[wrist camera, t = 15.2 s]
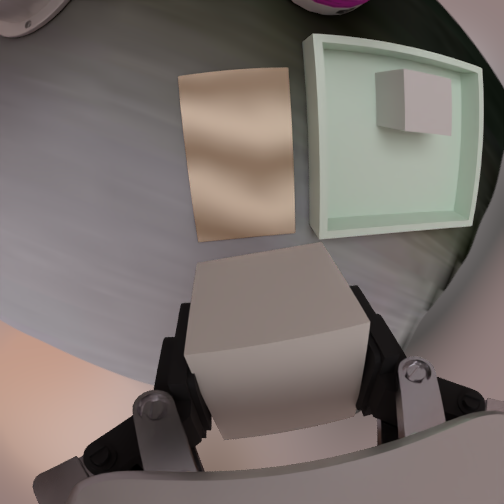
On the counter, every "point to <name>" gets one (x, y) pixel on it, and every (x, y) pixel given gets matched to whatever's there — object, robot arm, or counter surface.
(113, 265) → the counter surface
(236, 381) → the stone
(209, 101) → the birch board
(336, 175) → the tub
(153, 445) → the robot arm
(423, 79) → the stone
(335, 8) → the supplement can
